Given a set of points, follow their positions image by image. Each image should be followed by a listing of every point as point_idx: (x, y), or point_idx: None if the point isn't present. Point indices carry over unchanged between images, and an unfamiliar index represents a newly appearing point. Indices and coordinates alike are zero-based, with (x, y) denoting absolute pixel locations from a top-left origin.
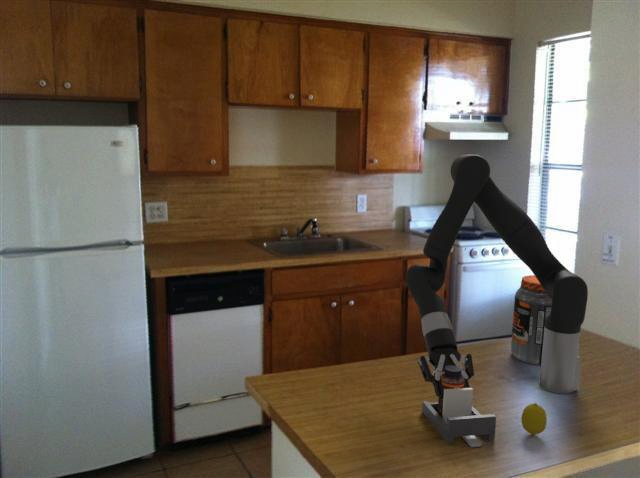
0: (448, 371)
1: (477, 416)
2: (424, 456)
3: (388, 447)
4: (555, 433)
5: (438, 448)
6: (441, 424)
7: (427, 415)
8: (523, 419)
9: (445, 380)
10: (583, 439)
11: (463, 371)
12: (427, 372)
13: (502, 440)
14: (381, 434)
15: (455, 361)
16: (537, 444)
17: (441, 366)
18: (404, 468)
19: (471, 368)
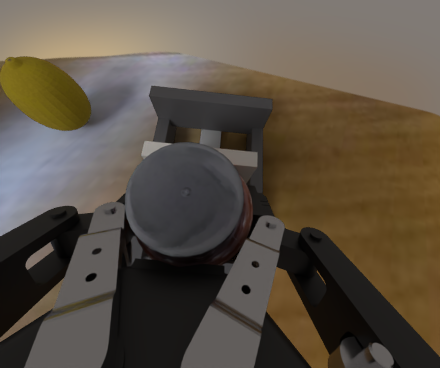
0: (235, 170)
1: (196, 96)
2: (307, 117)
3: (360, 153)
4: (31, 119)
5: (276, 130)
6: (262, 152)
7: None
8: (79, 99)
9: (244, 184)
10: None
11: (96, 228)
12: (336, 254)
13: (151, 124)
14: (367, 197)
15: (91, 288)
16: (101, 99)
17: (246, 263)
18: (345, 99)
19: (15, 237)
